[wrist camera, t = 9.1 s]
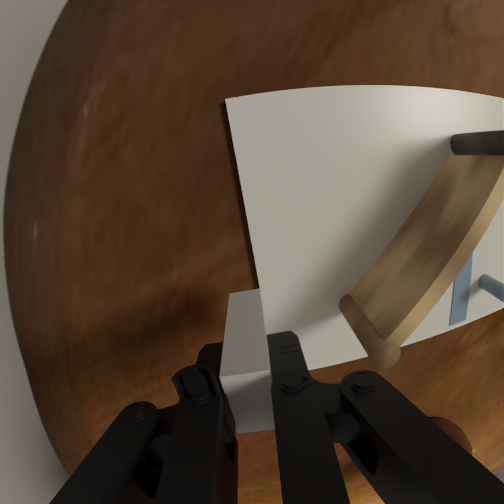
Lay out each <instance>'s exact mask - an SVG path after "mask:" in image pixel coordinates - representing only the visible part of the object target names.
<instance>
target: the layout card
mask: <svg viewBox="0 0 504 504" xmlns="http://www.w3.org/2000/svg"><path fill="white" fill-rule="evenodd" d="M225 101H226V107H227V112H228V118H229V123H230V129H231V134H232V139H233V145H234V150H235V156H236V161H237V167H238V172H239V177H240V183H241V188H242V194H243V199H244V205H245V210H246V216H247V221H248V227H249V232H250V238H251V243H252V248H253V254H254V259H255V265H256V270H257V276H258V281H259V287H260V292H261V298H262V303H263V309H264V314H265V320H266V325H267V331H268V334H273V333H279V332H285V331H290V330H291V331H292V332H293V333H295V334H296V335H297V336H298V338H299V342H300V345H301V348H302V351H303V355H304V358H305V361H306V364H307V368H308V370H312V369H317V368H322V367H326V366H331V365H335V364H340V363H344V362H348V361H352V360H356V359H360V358H364V357H367V356H368V355H367V353H366V352H365V350H364V348H363V347H362V345H361V343H360V342H359V340H358V338H357V337H356V335H355V334H354V332H353V330H352V329H351V327H350V326H349V324H348V322H347V321H346V319H345V318H344V316H343V314H342V313H341V311H340V310H339V301H340V299H341V298H342V297H343V296H345V295H346V294H349V293H350V292H351V291H352V289H353V288H354V287H355V286H356V285H357V283H358V282H359V281H360V280H361V279H362V277H363V276H364V275H365V274H366V272H367V271H368V270H369V269H370V267H371V266H372V265H373V264H374V262H375V261H376V260H377V259H378V257H379V256H380V255H381V254H382V252H383V251H384V250H385V248H386V247H387V246H388V244H389V243H390V242H391V240H392V239H393V238H394V236H395V235H396V234H397V232H398V231H399V230H400V228H401V227H402V226H403V224H404V223H405V221H406V220H407V219H408V217H409V216H410V214H411V213H412V212H413V210H414V209H415V207H416V206H417V204H418V203H419V202H420V200H421V199H422V197H423V196H424V194H425V193H426V191H427V190H428V188H429V187H430V185H431V184H432V182H433V181H434V179H435V178H436V176H437V174H438V173H439V171H440V170H441V168H442V167H443V165H444V163H445V162H446V160H447V158H448V157H449V155H455V154H454V153H453V151H452V149H451V145H450V141H451V138H452V136H453V135H454V134H461V133H471V132H483V131H497V130H504V98H499V97H494V96H489V95H483V94H477V93H471V92H464V91H456V90H448V89H439V88H428V87H414V86H391V85H352V86H328V87H313V88H301V89H291V90H282V91H274V92H266V93H259V94H253V95H246V96H240V97H235V98H229V99H225ZM502 308H504V199H503V201H502V203H501V205H500V207H499V208H498V210H497V212H496V214H495V216H494V218H493V219H492V221H491V223H490V225H489V226H488V228H487V230H486V232H485V233H484V235H483V237H482V238H481V240H480V242H479V243H478V245H477V246H476V248H475V250H474V251H473V253H472V254H471V256H470V257H469V259H468V260H467V262H466V263H465V265H464V266H463V268H462V269H461V271H460V272H459V274H458V275H457V276H456V278H455V279H454V281H453V282H452V283H451V285H450V286H449V288H448V289H447V290H446V292H445V293H444V294H443V296H442V297H441V298H440V300H439V301H438V302H437V303H436V305H435V306H434V307H433V308H432V310H431V311H430V312H429V313H428V315H427V316H426V317H425V318H424V320H423V321H422V322H421V323H420V324H419V326H418V327H417V328H416V329H415V330H414V331H413V333H412V334H411V335H410V336H409V337H408V338H407V339H406V341H405V342H404V343H403V344H402V345H401V346H400V347H402V346H405V345H409V344H412V343H415V342H418V341H421V340H424V339H427V338H430V337H432V336H435V335H438V334H441V333H444V332H446V331H449V330H452V329H454V328H457V327H459V326H462V325H464V324H467V323H469V322H472V321H474V320H477V319H479V318H481V317H484V316H486V315H488V314H491V313H493V312H495V311H497V310H499V309H502Z"/></svg>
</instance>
